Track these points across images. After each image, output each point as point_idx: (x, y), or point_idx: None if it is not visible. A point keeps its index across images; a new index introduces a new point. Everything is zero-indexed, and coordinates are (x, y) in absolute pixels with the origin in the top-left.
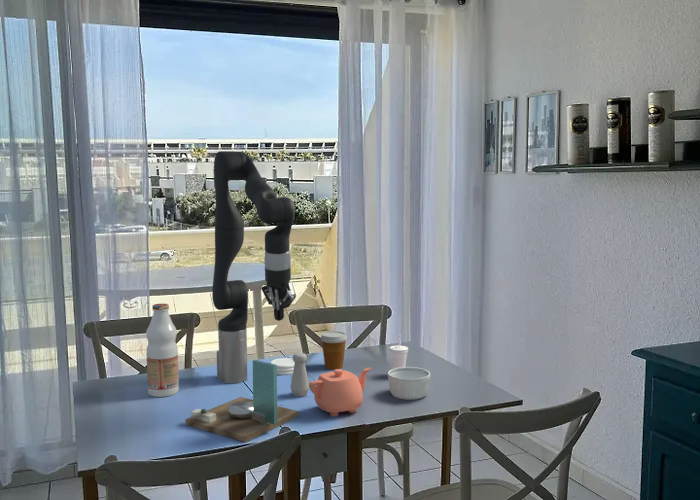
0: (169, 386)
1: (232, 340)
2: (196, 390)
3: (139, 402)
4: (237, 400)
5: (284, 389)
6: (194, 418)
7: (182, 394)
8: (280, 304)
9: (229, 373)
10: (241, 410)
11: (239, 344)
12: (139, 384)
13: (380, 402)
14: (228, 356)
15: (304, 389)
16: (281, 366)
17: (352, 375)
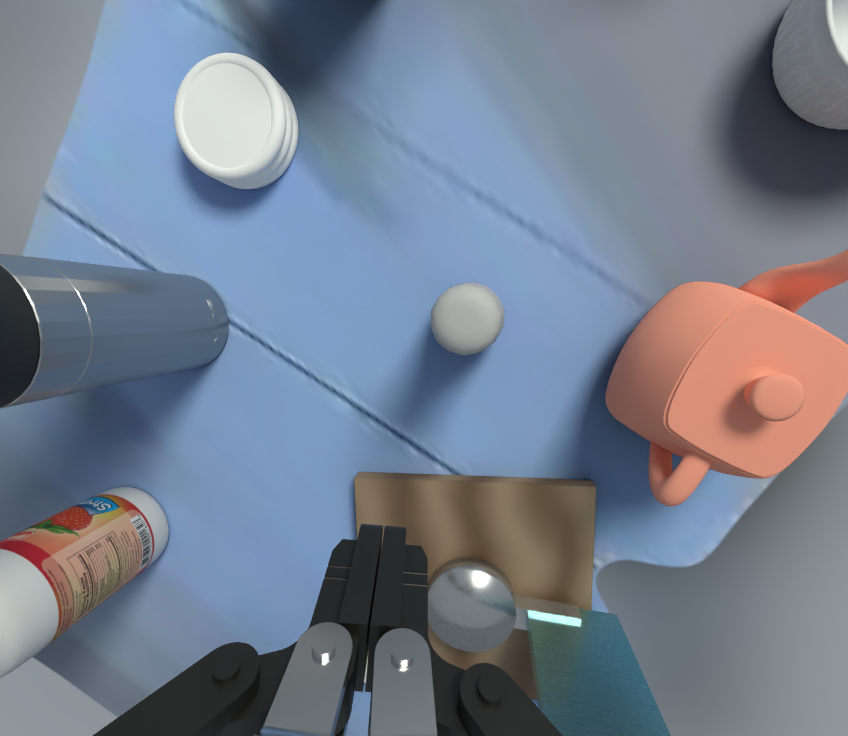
0: (147, 555)
1: (75, 380)
2: (184, 463)
3: (152, 607)
4: (370, 507)
5: (390, 304)
6: None
7: (183, 508)
8: (350, 663)
9: (186, 368)
10: (493, 641)
11: (111, 349)
12: (31, 507)
13: (781, 213)
14: (131, 379)
15: (500, 331)
16: (256, 169)
17: (824, 352)
